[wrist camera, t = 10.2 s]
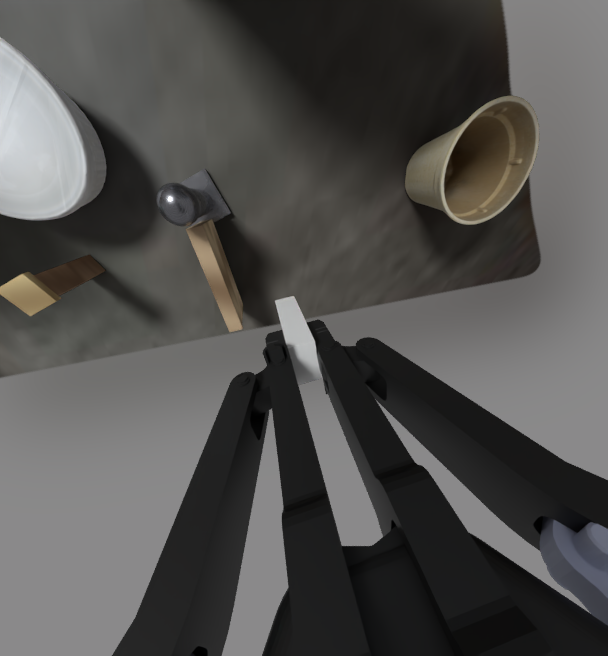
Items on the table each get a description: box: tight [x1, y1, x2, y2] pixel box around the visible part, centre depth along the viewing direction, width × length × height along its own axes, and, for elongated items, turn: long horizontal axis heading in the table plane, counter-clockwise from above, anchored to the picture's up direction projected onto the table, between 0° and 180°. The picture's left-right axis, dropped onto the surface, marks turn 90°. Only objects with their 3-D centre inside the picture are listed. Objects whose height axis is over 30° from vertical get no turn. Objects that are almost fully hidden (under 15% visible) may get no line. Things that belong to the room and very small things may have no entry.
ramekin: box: [0, 37, 107, 220], centre depth 18 cm, size 11×11×5 cm
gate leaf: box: [186, 219, 243, 332], centre depth 25 cm, size 10×1×7 cm, turn 11°
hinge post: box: [157, 169, 231, 226], centre depth 20 cm, size 4×4×11 cm
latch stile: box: [0, 255, 106, 316], centre depth 22 cm, size 3×3×9 cm
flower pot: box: [405, 96, 539, 225], centre depth 24 cm, size 9×9×9 cm
